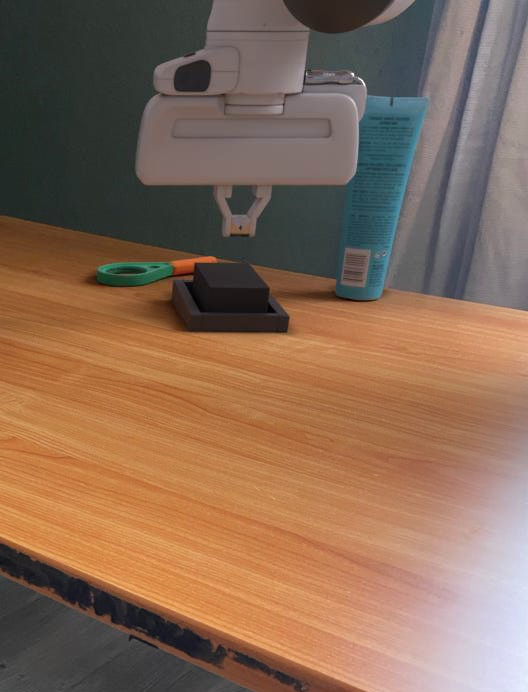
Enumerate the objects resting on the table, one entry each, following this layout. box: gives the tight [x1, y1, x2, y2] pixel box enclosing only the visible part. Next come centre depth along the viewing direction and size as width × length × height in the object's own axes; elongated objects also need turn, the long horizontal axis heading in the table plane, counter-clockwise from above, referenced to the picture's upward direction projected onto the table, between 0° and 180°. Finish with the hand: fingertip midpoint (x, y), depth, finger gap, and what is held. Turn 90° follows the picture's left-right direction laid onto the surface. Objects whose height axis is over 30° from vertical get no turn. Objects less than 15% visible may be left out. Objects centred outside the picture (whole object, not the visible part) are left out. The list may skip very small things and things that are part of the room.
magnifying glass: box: [96, 255, 218, 287], centre depth 114 cm, size 15×6×2 cm, turn 116°
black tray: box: [171, 279, 290, 334], centre depth 99 cm, size 9×15×2 cm, turn 1°
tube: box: [334, 94, 431, 301], centre depth 103 cm, size 7×5×19 cm, turn 85°
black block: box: [192, 262, 271, 313], centre depth 98 cm, size 6×11×4 cm, turn 1°
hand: (237, 236), depth 95 cm, fingers closed
